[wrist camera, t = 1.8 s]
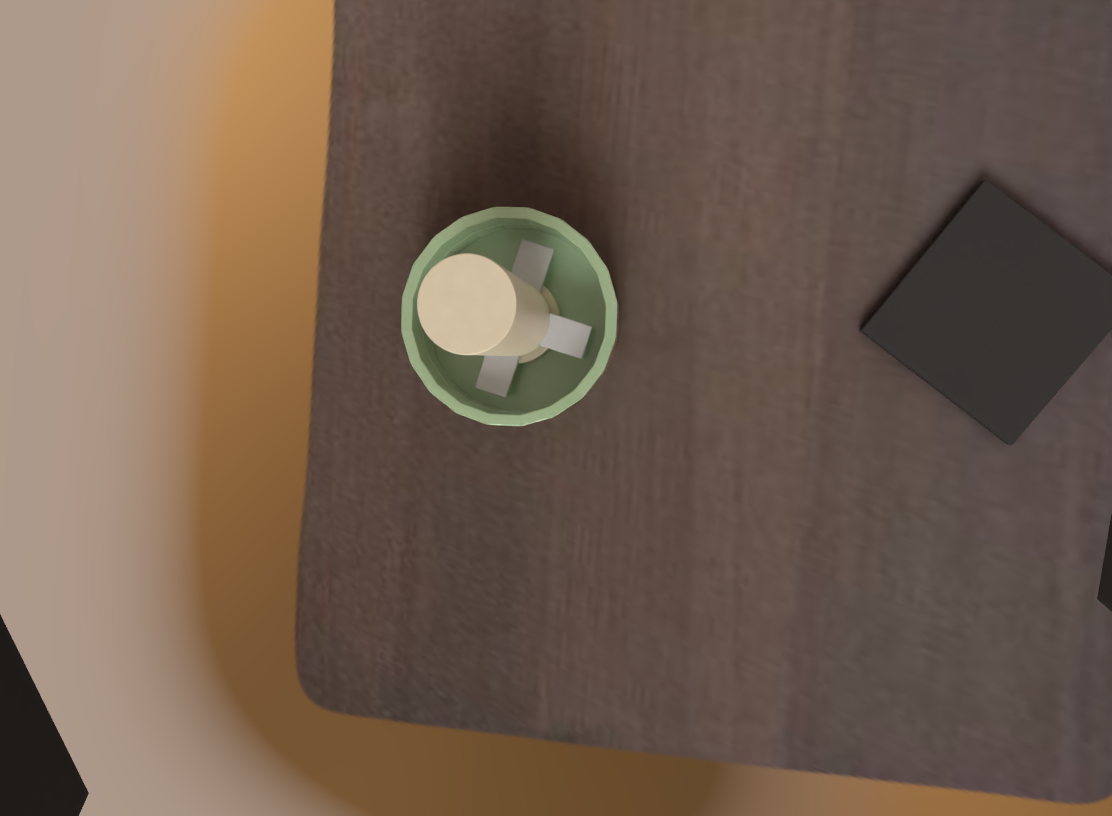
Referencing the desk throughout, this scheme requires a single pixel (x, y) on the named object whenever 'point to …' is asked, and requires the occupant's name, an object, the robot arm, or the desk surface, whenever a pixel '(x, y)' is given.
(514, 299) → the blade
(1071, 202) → the desk surface
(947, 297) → the mat
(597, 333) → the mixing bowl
